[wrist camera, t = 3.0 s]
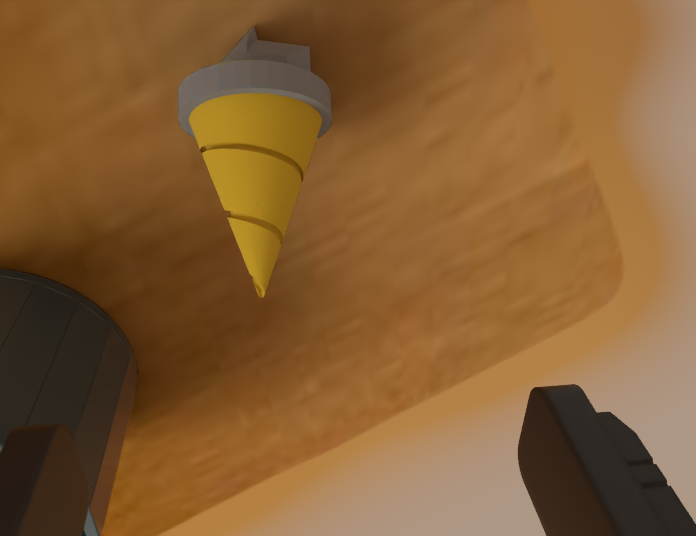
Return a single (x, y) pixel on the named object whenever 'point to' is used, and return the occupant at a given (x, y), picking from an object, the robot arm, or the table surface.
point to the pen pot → (66, 377)
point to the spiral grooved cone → (257, 138)
